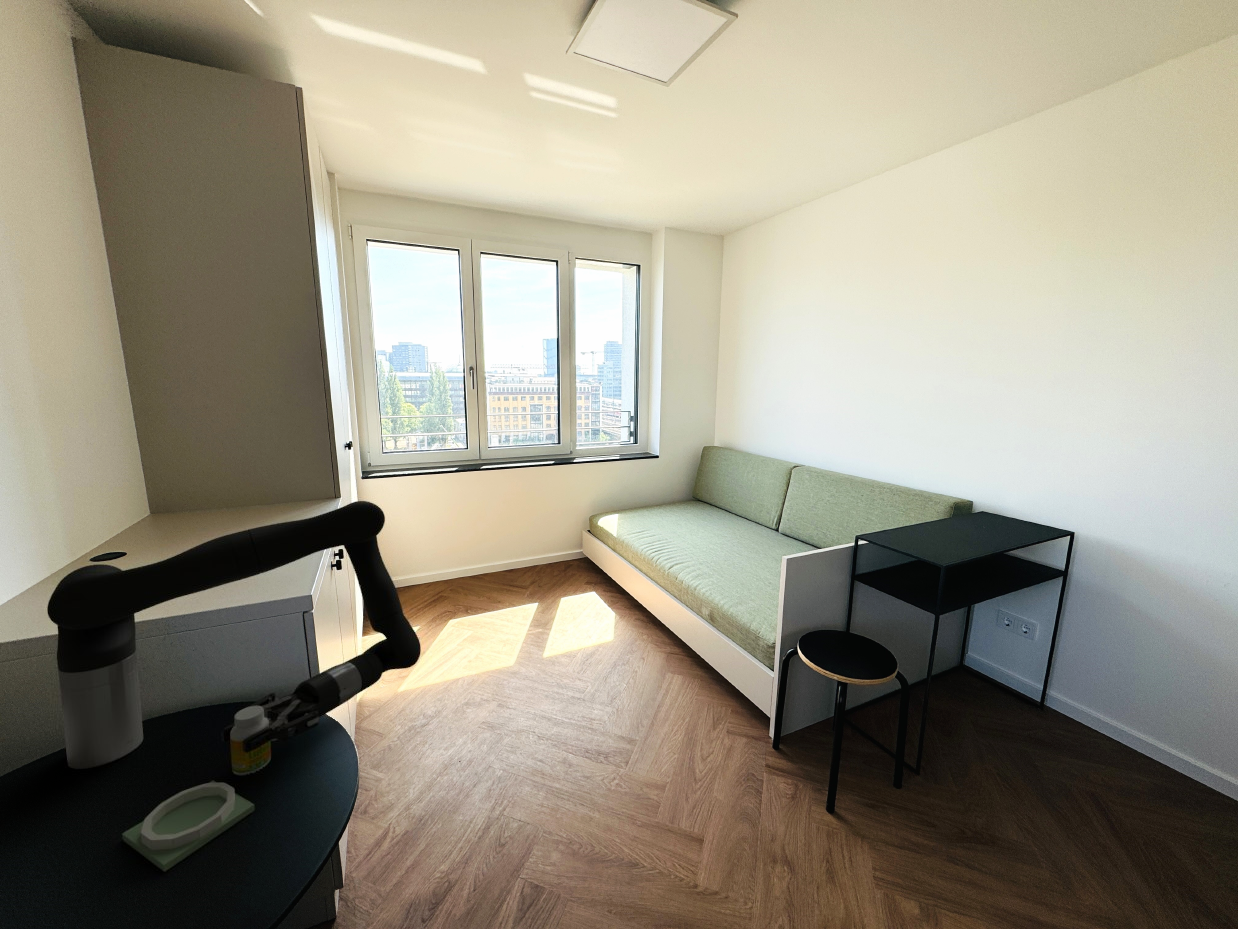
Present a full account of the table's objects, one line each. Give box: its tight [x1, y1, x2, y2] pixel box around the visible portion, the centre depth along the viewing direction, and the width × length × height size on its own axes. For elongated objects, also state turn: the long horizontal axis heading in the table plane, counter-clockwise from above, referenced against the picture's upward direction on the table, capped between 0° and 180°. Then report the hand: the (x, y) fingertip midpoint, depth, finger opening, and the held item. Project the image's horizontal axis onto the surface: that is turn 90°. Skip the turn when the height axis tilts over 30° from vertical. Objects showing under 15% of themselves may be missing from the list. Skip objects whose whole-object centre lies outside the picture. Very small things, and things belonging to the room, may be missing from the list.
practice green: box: [121, 780, 255, 873], centre depth 71 cm, size 11×11×2 cm
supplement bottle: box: [229, 706, 272, 776], centre depth 83 cm, size 5×5×10 cm
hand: (233, 741), depth 80 cm, fingers closed on supplement bottle, 5 cm apart
